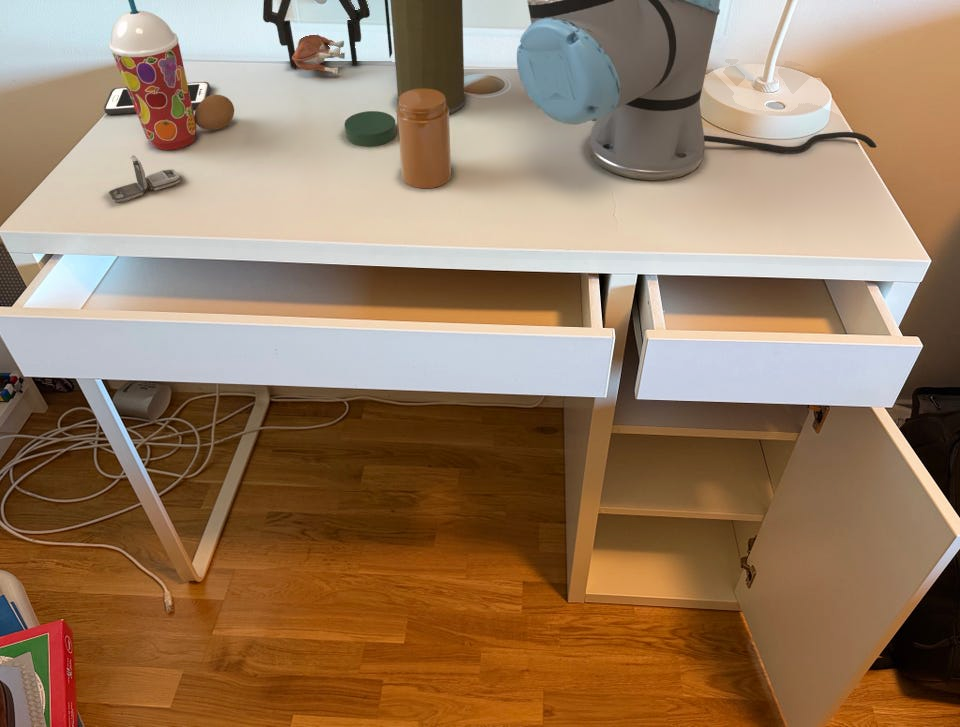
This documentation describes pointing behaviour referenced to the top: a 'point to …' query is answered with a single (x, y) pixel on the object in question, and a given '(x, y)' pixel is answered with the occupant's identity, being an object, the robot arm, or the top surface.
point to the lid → (370, 128)
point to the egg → (214, 112)
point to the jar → (424, 138)
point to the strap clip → (145, 182)
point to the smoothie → (154, 77)
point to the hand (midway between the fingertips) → (324, 62)
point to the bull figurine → (316, 53)
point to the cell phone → (123, 104)
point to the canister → (428, 47)
